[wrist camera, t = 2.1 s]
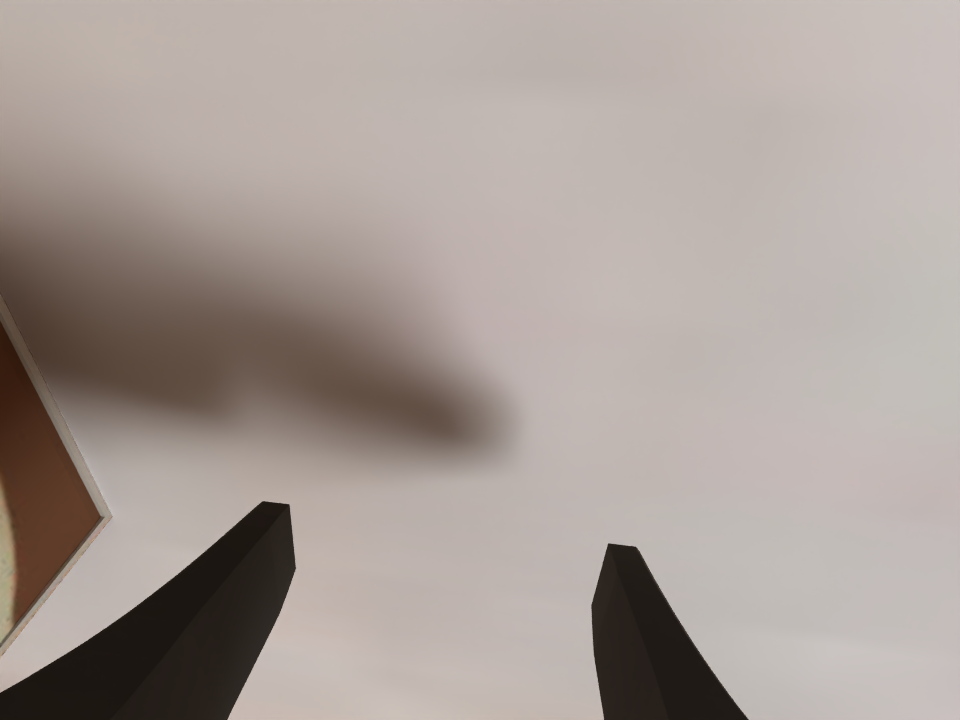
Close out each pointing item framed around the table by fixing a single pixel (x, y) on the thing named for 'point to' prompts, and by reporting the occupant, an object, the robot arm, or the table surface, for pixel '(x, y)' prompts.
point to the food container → (37, 489)
